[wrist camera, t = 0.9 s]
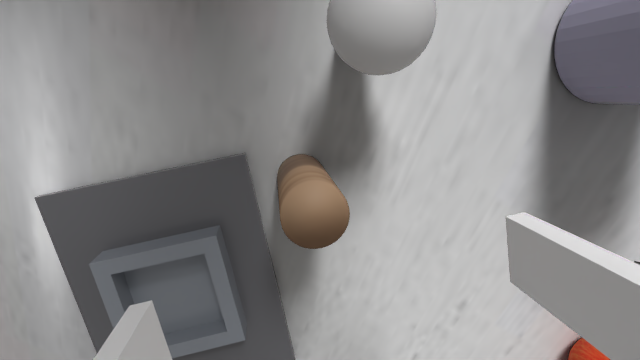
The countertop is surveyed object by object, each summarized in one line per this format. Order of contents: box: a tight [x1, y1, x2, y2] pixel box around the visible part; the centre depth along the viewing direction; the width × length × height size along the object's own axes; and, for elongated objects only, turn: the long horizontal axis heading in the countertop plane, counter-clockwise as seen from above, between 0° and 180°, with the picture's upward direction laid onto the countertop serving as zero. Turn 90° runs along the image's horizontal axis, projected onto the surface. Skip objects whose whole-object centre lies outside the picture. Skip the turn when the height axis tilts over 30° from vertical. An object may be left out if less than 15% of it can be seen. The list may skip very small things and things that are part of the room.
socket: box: [35, 153, 296, 360], centre depth 30 cm, size 20×16×3 cm
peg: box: [277, 154, 350, 249], centre depth 26 cm, size 4×4×10 cm
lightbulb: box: [327, 0, 436, 75], centre depth 23 cm, size 6×6×11 cm
